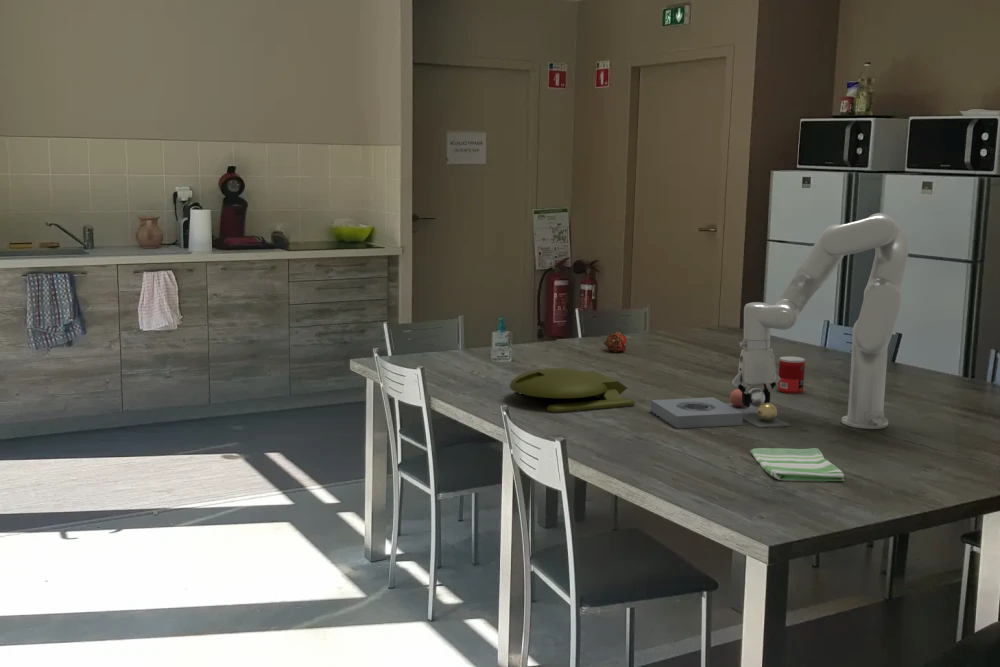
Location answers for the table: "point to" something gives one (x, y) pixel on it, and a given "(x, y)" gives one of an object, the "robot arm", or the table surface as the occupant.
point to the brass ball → (767, 412)
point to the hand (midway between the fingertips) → (756, 404)
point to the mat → (752, 417)
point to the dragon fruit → (616, 342)
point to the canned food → (791, 374)
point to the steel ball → (757, 397)
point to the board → (696, 412)
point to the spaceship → (571, 388)
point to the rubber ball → (736, 398)
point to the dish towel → (797, 464)
